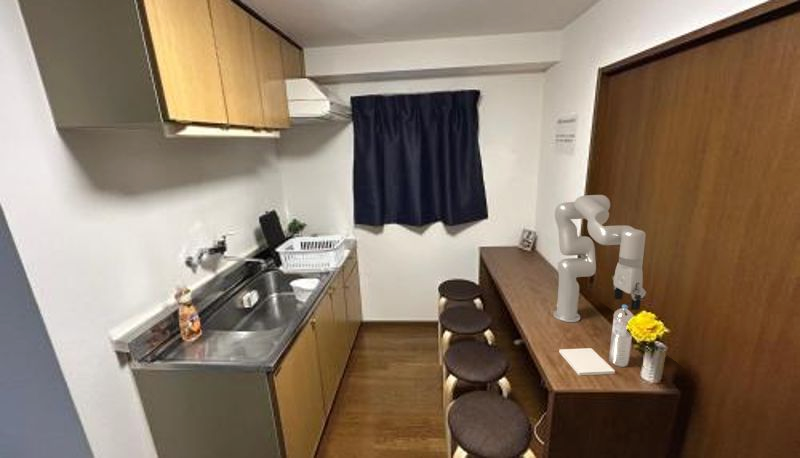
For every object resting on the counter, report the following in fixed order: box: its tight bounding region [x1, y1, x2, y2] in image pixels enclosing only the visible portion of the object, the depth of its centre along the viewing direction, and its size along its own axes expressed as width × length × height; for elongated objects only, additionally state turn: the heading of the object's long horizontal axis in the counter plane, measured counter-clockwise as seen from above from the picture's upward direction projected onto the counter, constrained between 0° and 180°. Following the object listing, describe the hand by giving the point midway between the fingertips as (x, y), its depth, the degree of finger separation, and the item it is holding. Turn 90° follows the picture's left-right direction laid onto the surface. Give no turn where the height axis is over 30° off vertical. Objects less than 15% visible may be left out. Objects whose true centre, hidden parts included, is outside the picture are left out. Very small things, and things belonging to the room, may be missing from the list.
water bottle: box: [608, 304, 635, 368], centre depth 136 cm, size 7×7×25 cm
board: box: [558, 347, 616, 376], centre depth 139 cm, size 16×14×1 cm
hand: (626, 304), depth 133 cm, fingers open, 9 cm apart
